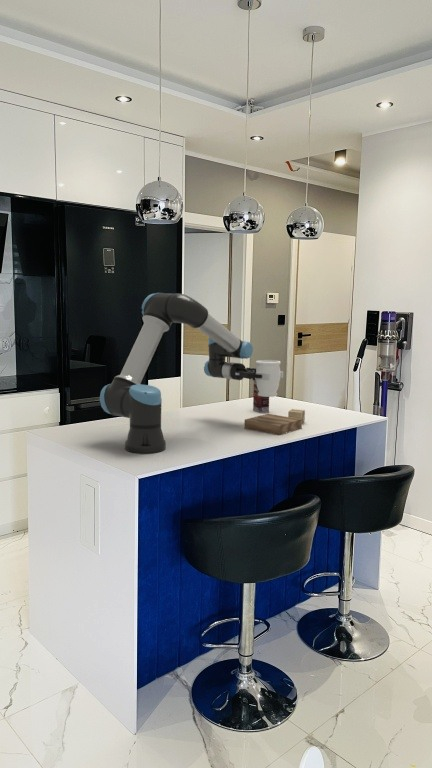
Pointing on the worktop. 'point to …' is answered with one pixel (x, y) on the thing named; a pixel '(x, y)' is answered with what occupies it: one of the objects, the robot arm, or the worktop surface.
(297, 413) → the oak cube
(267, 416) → the walnut slab
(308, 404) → the worktop surface
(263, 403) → the supplement box
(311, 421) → the worktop surface
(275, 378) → the jar
